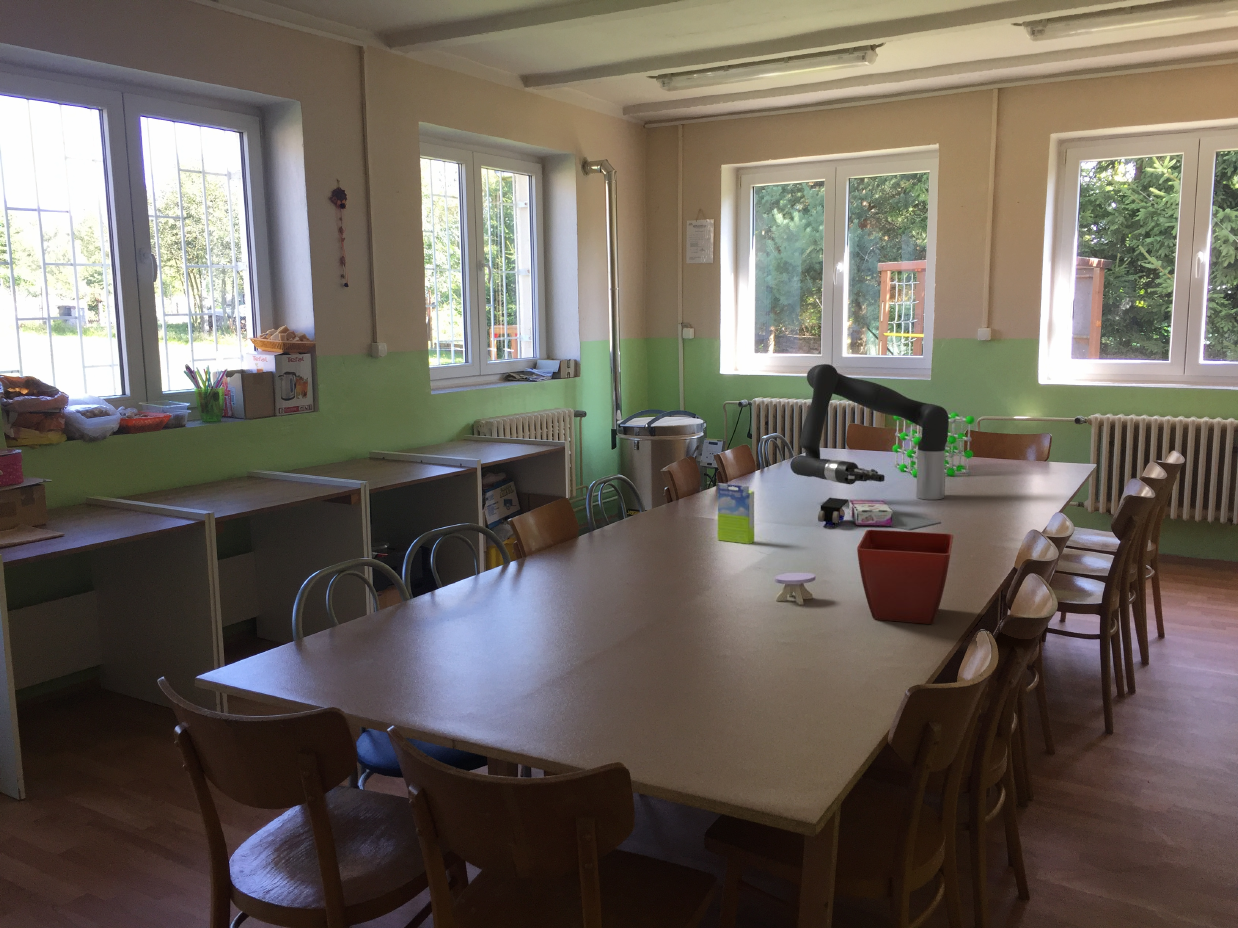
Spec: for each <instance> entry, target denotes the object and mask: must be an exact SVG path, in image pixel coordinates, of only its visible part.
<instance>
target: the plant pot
mask: <svg viewBox="0 0 1238 928" xmlns="http://www.w3.org/2000/svg"><path fill="white" fill-rule="evenodd" d="M953 539H954V534H952V533H940V532H938V533H937V532H923V531H908V530H906V531H904V530H903V531H902V530H889V529H888V530H886V529H883V530H882V529H866V530H865V532H864V534H863V536H862V538H861V539H860V542H859V543H858V546H857V548H856V550H857V559H858V560H857V561H858V567H859V573H860V577H861V582H862V586H863V590H864V595H865V598H866V601H867V604H868V608H869V611H870V615H871V617H872V619H874V620H878V621H879V620H880V621H892V622H902V623H914V624H915V623H916V624H927V625H930V624H934V622H935V619H936V617H937V614H938V612H939V608H940V604H941V601H942V598H943V594H944V591H945V585H946V581H947V577H948V572H949V571H948V570H949V565H950V561H951V560H950V558H951V553H952V546H953V542H954V541H953Z"/></svg>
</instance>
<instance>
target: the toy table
mask: <svg viewBox="0 0 1238 928" xmlns="http://www.w3.org/2000/svg"><path fill="white" fill-rule="evenodd" d="M814 581H816V574H815V573H811V572H787V573H782V574H777V575H775V576H774V583H777V584H782V585H784V586H783V588H782V590H780V592H779V593H778V594H776V596H775V598H774V601H776V602H783V601H784V602H785V601H787V599H788V598H792V597H793V594H794V598H795V603H797V604H798V605H799V606H803V605H804V600H808V599H809V600H810V599H813V593H811V591H810V590H808V589H807V588H806V586H805V584H808V583H813V582H814Z"/></svg>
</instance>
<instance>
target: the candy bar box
mask: <svg viewBox="0 0 1238 928" xmlns="http://www.w3.org/2000/svg"><path fill="white" fill-rule="evenodd" d="M848 505H849V506H848V507H849V508H848V510H849V511H848V514H849V516H850V517H851V519H852V520H853V522H854V523H855V524H856V525H857V526H886V525H892V515H893V513H894V511H893V510H892V508H890V507H889V505H888V504H887V503H886V502H885V501H884V500H865V499H864V500H862V499H861V500H857V499H856V500H855V499H852V500H851V499H850V500H849V504H848Z"/></svg>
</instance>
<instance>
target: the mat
mask: <svg viewBox="0 0 1238 928" xmlns="http://www.w3.org/2000/svg"><path fill="white" fill-rule="evenodd" d="M941 523H942V522H941V521H939V520H934V519H930V518H929V519H928V518H923V517H919V516H913V515H909V514H904V513H903V514H902V513H898V512H893V515H892V525H885V526H886V527H891V528H896V529H901V530H906V531H912V530H915V529H920V528H924V527H925V528H926V527H928V526H933V525H938V524H941Z"/></svg>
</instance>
